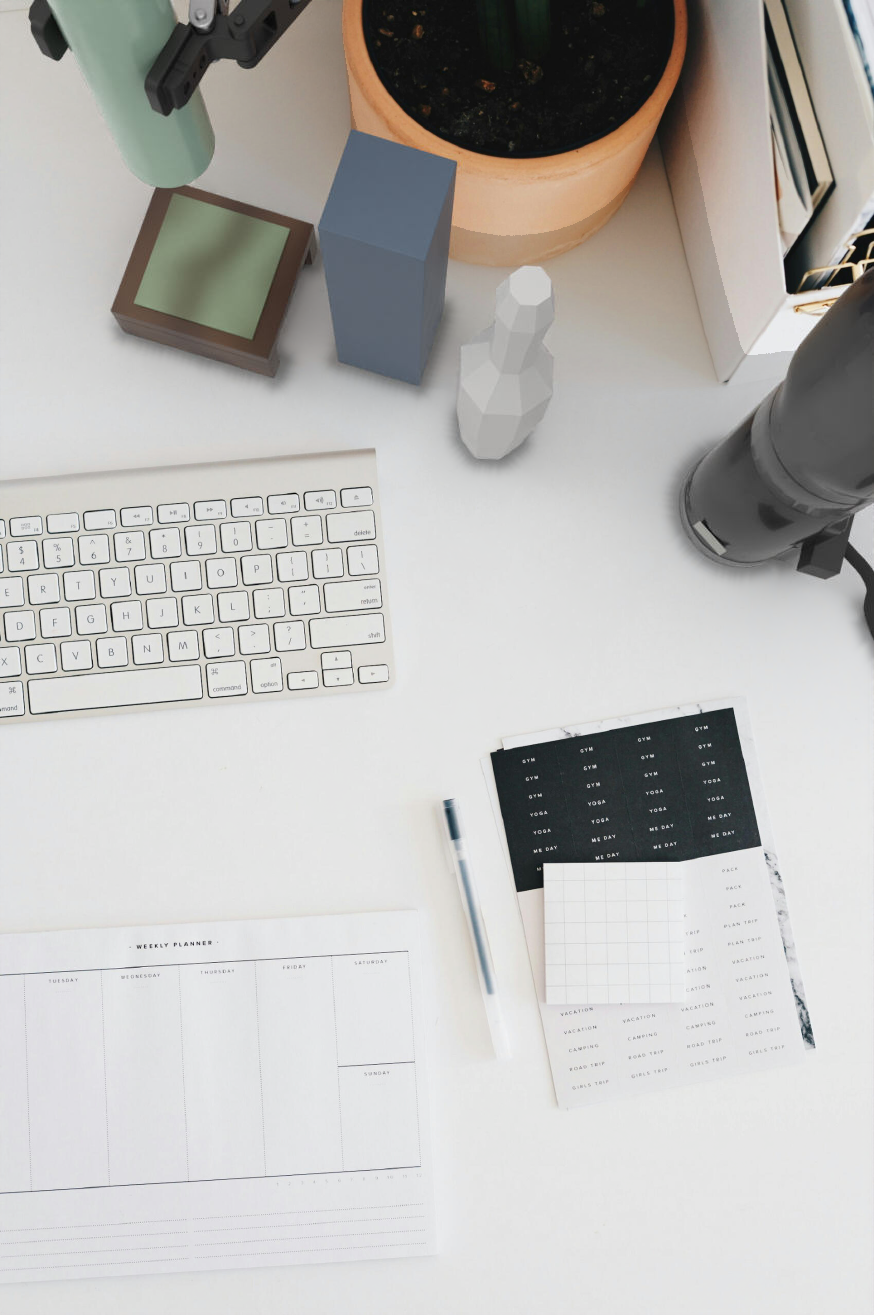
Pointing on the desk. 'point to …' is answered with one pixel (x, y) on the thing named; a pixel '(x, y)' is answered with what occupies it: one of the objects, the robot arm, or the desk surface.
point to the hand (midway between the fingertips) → (99, 73)
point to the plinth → (387, 253)
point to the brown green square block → (213, 277)
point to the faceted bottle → (508, 368)
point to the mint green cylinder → (136, 86)
